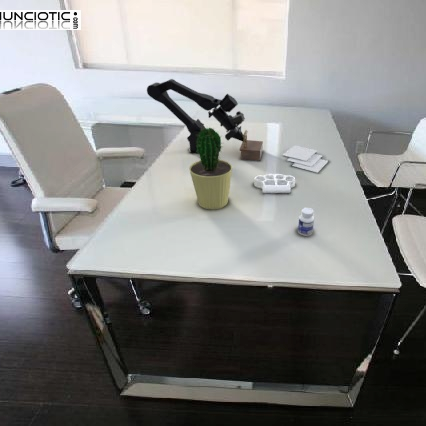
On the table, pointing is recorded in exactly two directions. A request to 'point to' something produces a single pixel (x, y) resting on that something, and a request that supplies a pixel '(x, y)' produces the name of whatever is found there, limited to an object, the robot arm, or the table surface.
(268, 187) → the white brass knuckles
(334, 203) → the table surface
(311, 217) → the pill bottle
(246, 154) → the box
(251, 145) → the lid
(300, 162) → the paper stack
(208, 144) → the potted cactus
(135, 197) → the table surface
